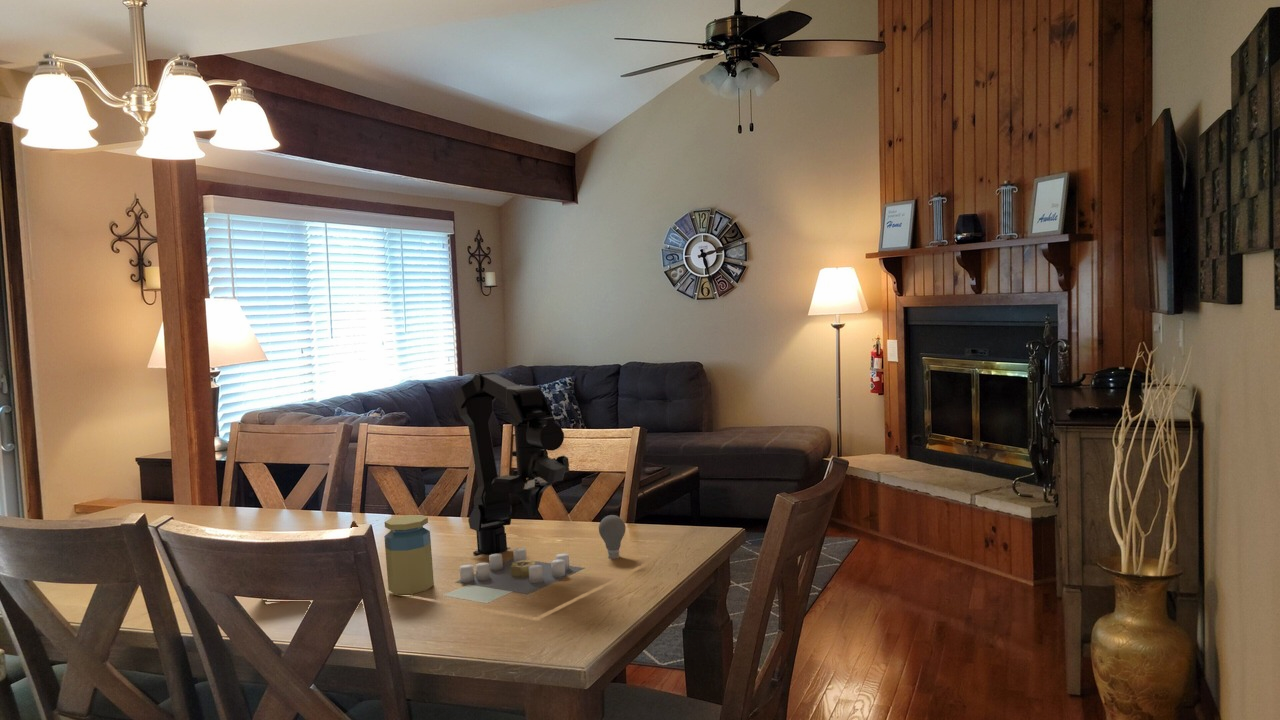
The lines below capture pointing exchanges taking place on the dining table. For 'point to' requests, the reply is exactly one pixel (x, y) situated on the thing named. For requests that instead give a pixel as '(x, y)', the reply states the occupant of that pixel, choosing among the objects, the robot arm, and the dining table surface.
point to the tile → (477, 593)
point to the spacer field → (502, 579)
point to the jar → (408, 555)
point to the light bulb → (612, 534)
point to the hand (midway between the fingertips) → (533, 517)
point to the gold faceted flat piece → (521, 568)
